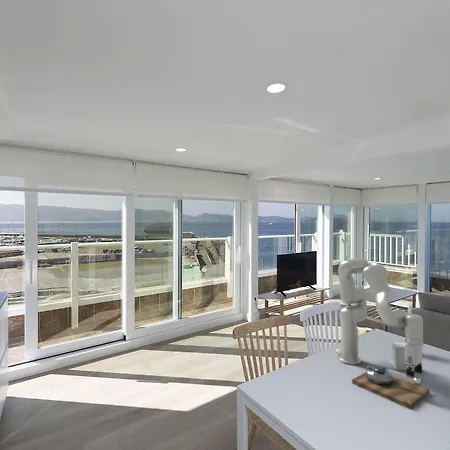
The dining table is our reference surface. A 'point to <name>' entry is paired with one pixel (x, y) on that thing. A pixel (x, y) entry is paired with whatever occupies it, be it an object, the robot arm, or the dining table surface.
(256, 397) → the dining table surface
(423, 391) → the wooden base
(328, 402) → the dining table surface
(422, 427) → the dining table surface
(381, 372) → the faucet lever handle
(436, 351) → the dining table surface
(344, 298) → the robot arm
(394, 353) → the supplement box
